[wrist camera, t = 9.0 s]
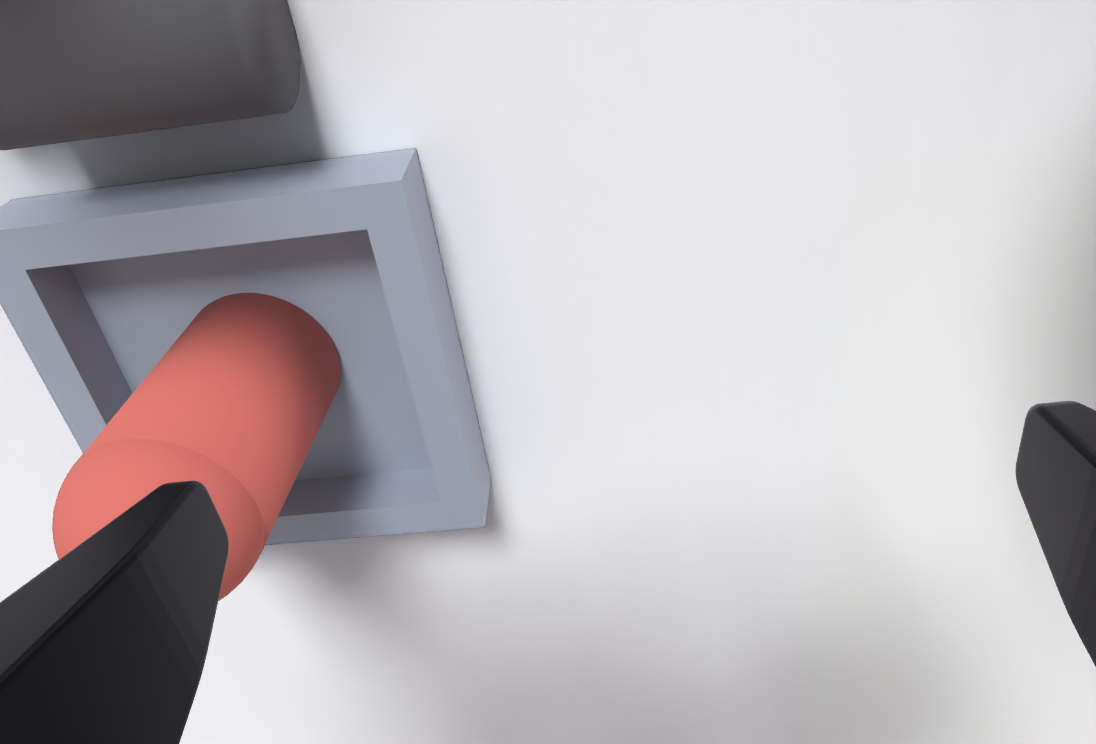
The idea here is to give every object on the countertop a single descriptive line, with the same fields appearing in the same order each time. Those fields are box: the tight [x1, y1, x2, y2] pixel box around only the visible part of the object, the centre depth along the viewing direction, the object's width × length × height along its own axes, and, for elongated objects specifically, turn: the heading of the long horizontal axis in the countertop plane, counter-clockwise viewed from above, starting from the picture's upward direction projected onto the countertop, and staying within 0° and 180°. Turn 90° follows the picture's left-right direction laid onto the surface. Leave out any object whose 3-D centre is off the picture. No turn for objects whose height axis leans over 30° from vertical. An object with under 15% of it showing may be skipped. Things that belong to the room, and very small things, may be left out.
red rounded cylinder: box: [52, 293, 341, 601], centre depth 19 cm, size 4×4×9 cm
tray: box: [0, 148, 491, 545], centre depth 22 cm, size 10×10×2 cm
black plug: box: [0, 0, 300, 150], centre depth 17 cm, size 7×4×4 cm, turn 98°
